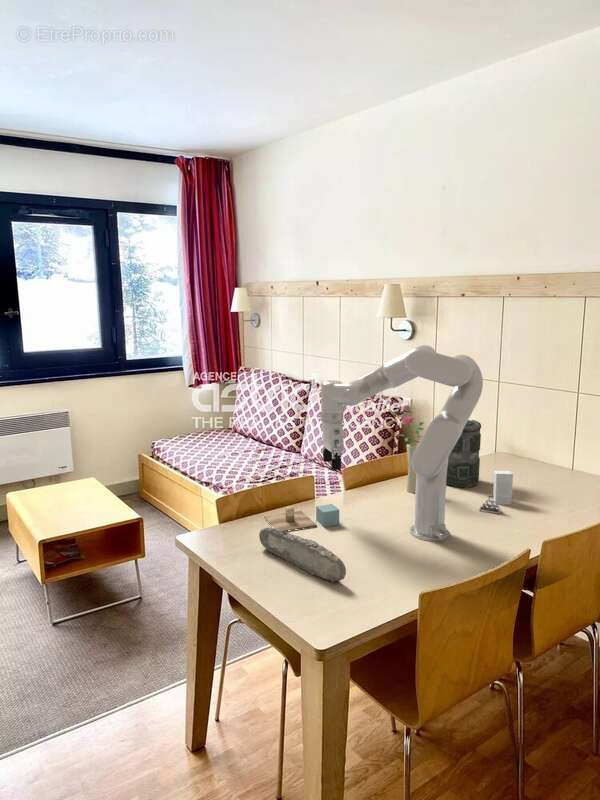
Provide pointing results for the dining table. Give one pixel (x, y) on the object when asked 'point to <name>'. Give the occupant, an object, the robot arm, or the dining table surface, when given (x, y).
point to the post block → (290, 520)
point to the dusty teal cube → (327, 515)
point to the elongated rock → (303, 554)
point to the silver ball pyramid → (489, 509)
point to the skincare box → (503, 487)
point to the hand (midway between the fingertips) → (331, 465)
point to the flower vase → (410, 451)
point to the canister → (465, 457)
